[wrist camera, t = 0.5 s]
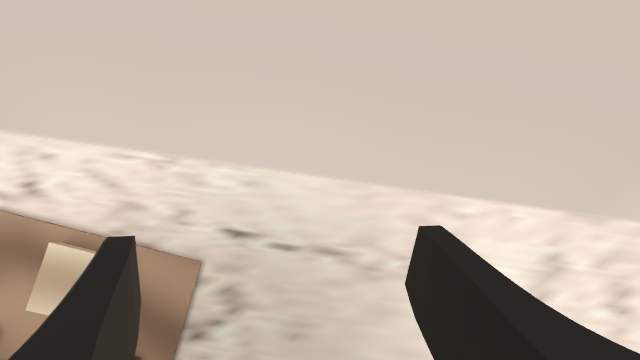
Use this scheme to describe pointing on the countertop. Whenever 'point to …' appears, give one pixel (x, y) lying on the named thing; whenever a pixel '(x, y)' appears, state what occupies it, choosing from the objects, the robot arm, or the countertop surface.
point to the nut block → (57, 275)
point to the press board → (34, 236)
